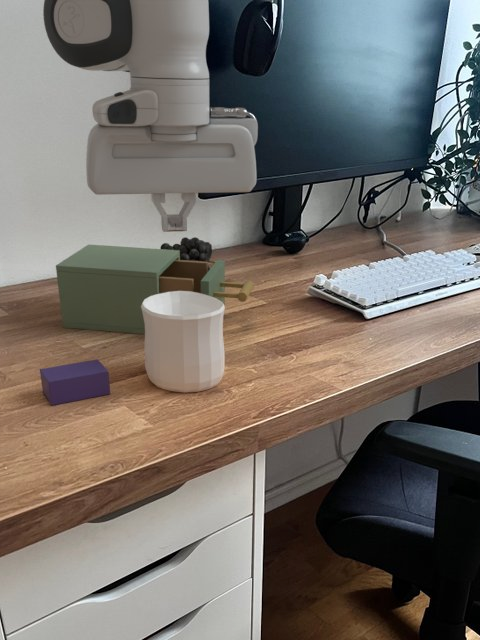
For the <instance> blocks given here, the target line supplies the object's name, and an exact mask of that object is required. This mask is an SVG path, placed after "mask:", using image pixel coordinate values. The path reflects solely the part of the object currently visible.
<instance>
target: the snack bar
mask: <svg viewBox="0 0 480 640" xmlns="http://www.w3.org/2000/svg"><path fill="white" fill-rule="evenodd" d="M109 373H110V372H109V370H108V369H107V367H105V365H103V363H102V362H101V361H100V360H99V359H91V360H85V361H80V362H74V363H68V364H62V365H57V366H50V367H45V368H40V369H39V374H40V381H41V386H42V387H41V388H42V393H43V395H44V396H45V397H46V400H48V402H49V404H50V405H51V406H55V405H61V404H66V403H72V402H77V401H82V400H87V399H93V398H97V397H103V396H108V395H111V384H110V374H109Z"/></svg>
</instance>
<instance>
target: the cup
mask: <svg viewBox="0 0 480 640" xmlns="http://www.w3.org/2000/svg"><path fill="white" fill-rule="evenodd" d="M141 309H142V313H143V318H144V323H145V334H144V349H143V350H144V367H145V368H144V369H145V372H146V375H147V377H148V379H149V381H150V382H151V383H152V384H153V385H154V386H156V387H157V388H159V389H162V390H165V391H169V392H175V393H184V394H185V393H186V394H187V393H198V392H202V391H207V390H210V389H212V388H215V387H217V386H218V385H219V383H221V380H222V379H223V377H224V374H225V371H226V370H225V367H226V366H225V364H226V363H225V362H226V361H225V357H226V356H225V353H226V352H225V342H224V333H223V332H224V315H225V310H226V306H224V304H223V302H222V301H220V300H218V299H216V298H214V297H211V296H208V295H205V294H201V293H196V292H191V291H172V292H166V293H161V294H156V295H153V296H150V297H148V298H146V299H145V300H144V301H143V303H142V305H141Z"/></svg>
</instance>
